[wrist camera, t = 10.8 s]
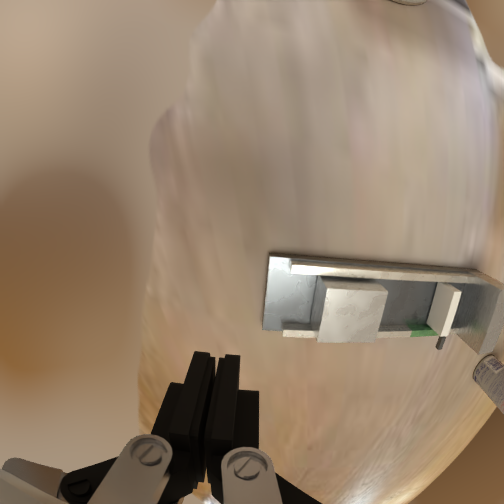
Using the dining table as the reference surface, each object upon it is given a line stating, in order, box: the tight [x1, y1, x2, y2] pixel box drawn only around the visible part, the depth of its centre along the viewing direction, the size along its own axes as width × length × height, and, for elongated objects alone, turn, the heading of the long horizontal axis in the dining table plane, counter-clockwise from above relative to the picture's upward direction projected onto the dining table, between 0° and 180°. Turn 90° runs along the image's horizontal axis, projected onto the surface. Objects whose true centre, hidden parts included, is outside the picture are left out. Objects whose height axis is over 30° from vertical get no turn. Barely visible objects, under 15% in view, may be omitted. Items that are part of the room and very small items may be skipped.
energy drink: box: [473, 355, 504, 414], centre depth 28 cm, size 5×5×12 cm
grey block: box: [310, 275, 388, 343], centre depth 27 cm, size 5×6×4 cm
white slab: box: [426, 282, 462, 350], centre depth 28 cm, size 7×1×4 cm, turn 175°
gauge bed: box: [262, 253, 504, 354], centre depth 27 cm, size 8×28×8 cm, turn 86°
